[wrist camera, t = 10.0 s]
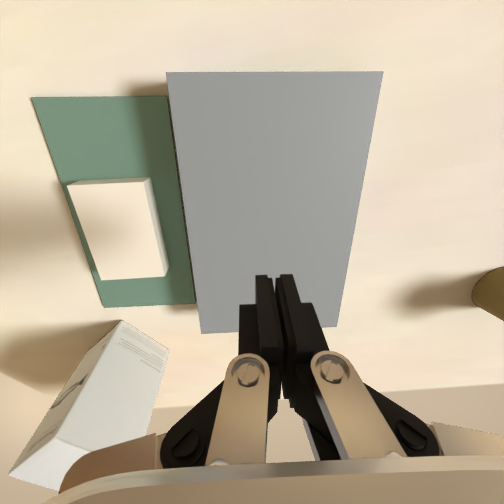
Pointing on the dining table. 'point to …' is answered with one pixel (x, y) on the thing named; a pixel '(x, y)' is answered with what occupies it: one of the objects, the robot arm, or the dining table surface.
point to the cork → (491, 293)
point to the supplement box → (96, 405)
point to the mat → (123, 166)
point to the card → (121, 227)
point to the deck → (271, 182)
